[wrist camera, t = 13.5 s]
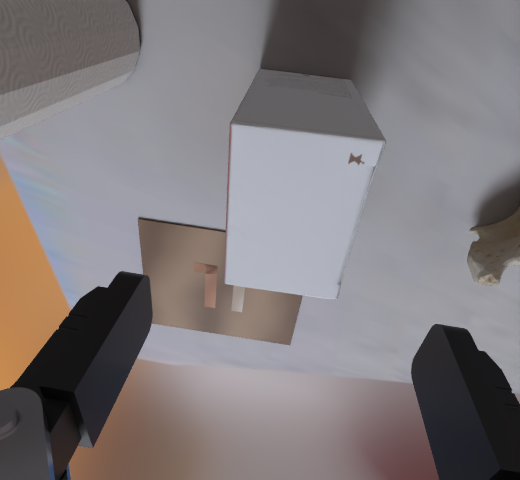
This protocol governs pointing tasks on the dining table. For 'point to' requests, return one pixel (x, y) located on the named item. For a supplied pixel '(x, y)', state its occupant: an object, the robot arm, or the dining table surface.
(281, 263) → the small box
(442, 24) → the dining table surface
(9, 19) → the paper towel roll
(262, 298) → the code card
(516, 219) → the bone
